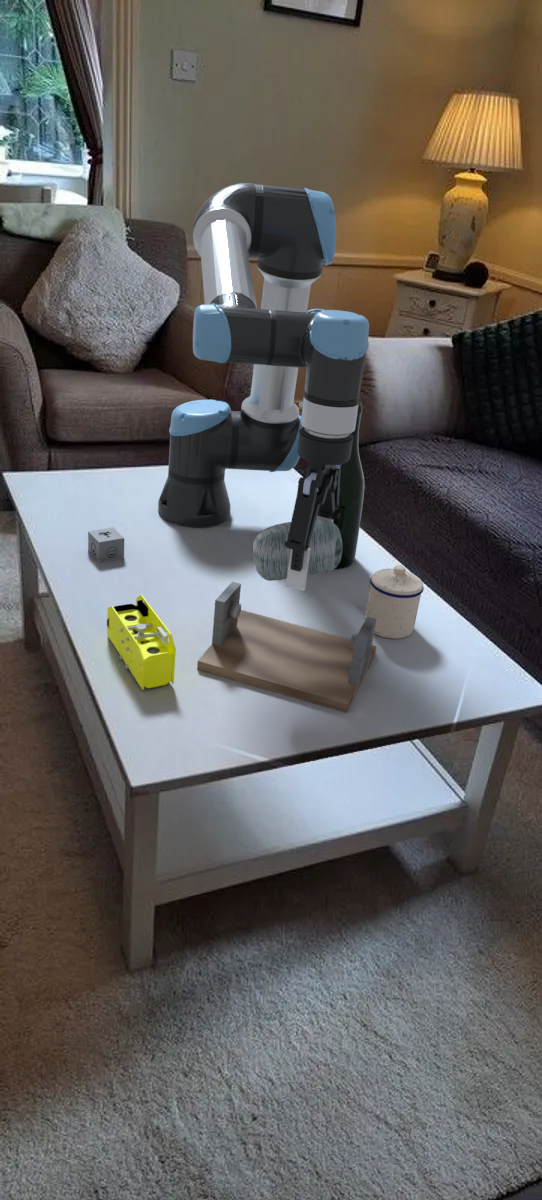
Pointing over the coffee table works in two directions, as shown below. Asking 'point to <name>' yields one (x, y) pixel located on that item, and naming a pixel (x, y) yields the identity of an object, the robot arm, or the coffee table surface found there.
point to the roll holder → (287, 654)
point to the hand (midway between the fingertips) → (307, 571)
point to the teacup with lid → (394, 601)
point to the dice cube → (106, 544)
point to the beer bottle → (350, 500)
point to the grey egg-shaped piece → (275, 555)
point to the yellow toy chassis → (142, 643)
